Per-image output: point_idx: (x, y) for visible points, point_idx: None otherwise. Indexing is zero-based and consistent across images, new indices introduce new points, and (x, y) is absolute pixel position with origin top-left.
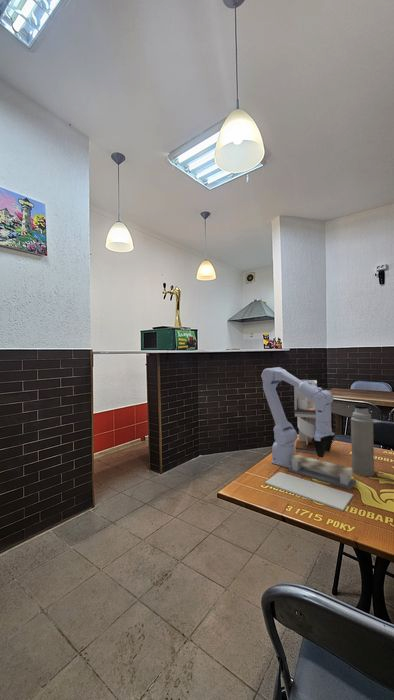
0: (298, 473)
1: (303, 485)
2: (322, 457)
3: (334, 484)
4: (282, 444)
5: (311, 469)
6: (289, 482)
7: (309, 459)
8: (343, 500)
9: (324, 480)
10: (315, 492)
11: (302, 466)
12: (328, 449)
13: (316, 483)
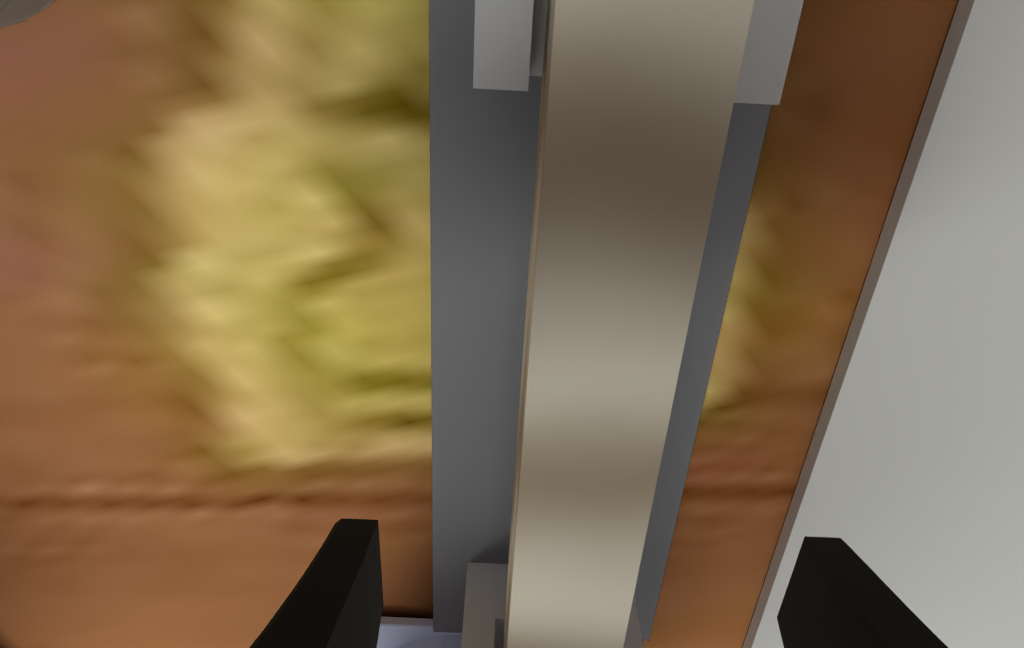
0: (666, 544)
1: (993, 428)
2: (844, 546)
3: (757, 136)
4: None
5: (488, 478)
6: (968, 547)
7: (591, 616)
8: None
9: (730, 277)
10: None
11: (487, 569)
12: (369, 580)
13: (871, 332)
